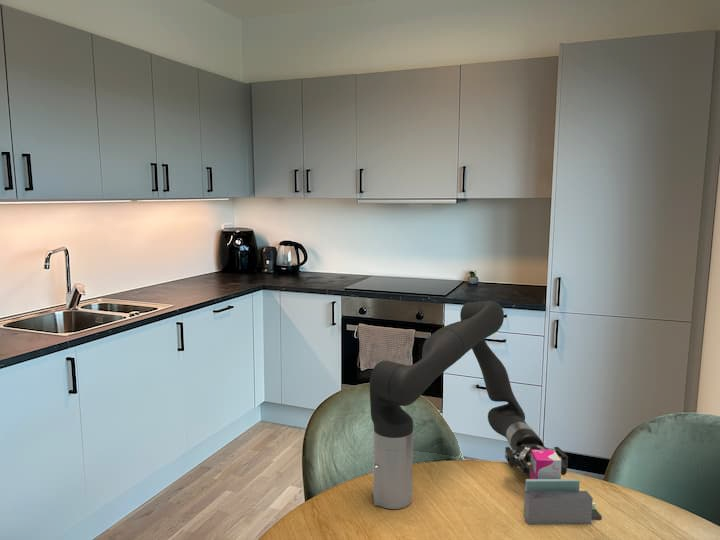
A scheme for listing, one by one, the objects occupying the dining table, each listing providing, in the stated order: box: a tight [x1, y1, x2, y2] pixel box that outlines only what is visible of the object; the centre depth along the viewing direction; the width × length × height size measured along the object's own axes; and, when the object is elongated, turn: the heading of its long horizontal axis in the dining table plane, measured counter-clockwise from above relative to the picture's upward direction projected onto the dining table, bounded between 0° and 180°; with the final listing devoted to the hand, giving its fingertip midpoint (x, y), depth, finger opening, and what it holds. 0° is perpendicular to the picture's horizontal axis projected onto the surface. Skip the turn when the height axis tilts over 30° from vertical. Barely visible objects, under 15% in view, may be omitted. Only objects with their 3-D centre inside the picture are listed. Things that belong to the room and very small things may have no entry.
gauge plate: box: [524, 478, 596, 508], centre depth 120 cm, size 16×1×7 cm, turn 91°
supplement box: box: [529, 449, 562, 479], centre depth 125 cm, size 6×6×12 cm
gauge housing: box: [523, 490, 603, 525], centre depth 121 cm, size 17×10×6 cm, turn 91°
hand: (546, 471), depth 124 cm, fingers open, 8 cm apart
